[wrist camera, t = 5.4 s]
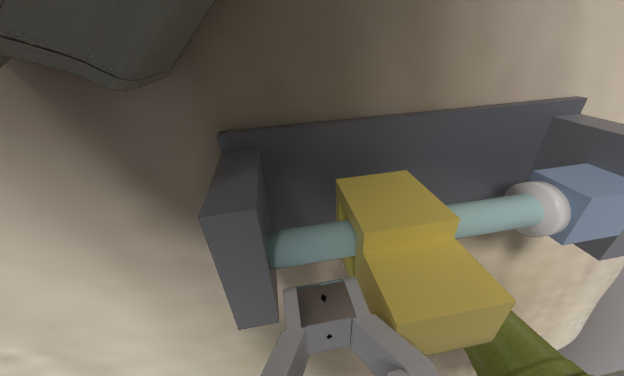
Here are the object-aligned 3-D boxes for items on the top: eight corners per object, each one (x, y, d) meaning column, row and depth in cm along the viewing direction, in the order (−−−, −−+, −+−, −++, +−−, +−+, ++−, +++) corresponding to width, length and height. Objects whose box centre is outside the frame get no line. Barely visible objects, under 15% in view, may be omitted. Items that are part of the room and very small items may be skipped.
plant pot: (500, 327, 32) (572, 413, 25) (432, 344, 31) (485, 438, 24) (526, 279, 27) (624, 369, 20) (445, 298, 26) (517, 398, 19)
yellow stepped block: (335, 241, 15) (385, 377, 9) (335, 179, 13) (401, 305, 7) (396, 231, 16) (483, 355, 10) (406, 170, 14) (528, 280, 7)
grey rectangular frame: (248, 250, 18) (242, 340, 13) (219, 132, 14) (189, 193, 8) (524, 207, 21) (617, 266, 16) (577, 96, 16) (737, 124, 11)
